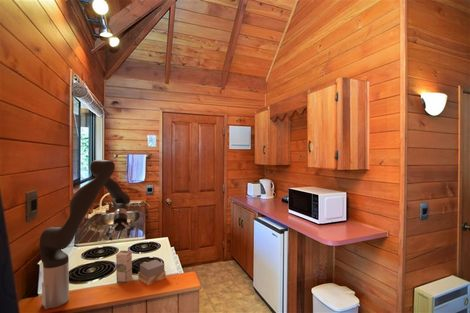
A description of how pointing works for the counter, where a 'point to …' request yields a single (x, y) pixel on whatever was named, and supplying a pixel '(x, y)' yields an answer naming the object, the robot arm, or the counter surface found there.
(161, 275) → the tower base
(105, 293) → the counter surface
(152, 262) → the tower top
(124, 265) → the pinkish brown brick pillar
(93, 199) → the robot arm
